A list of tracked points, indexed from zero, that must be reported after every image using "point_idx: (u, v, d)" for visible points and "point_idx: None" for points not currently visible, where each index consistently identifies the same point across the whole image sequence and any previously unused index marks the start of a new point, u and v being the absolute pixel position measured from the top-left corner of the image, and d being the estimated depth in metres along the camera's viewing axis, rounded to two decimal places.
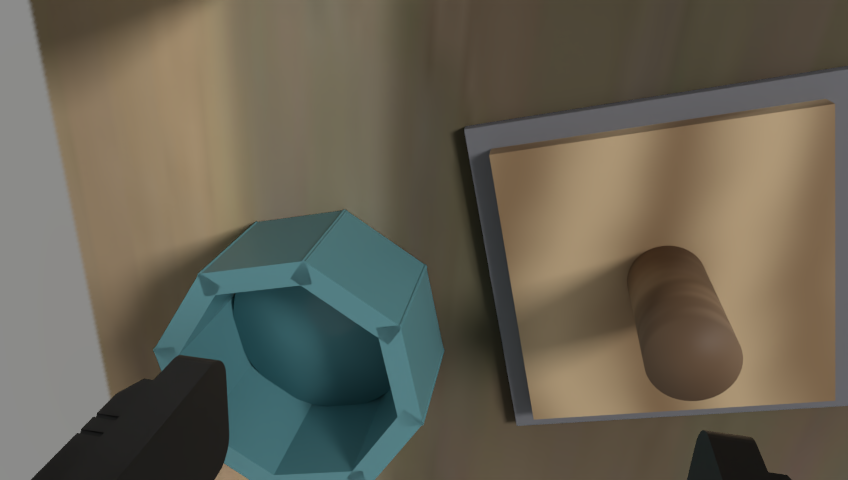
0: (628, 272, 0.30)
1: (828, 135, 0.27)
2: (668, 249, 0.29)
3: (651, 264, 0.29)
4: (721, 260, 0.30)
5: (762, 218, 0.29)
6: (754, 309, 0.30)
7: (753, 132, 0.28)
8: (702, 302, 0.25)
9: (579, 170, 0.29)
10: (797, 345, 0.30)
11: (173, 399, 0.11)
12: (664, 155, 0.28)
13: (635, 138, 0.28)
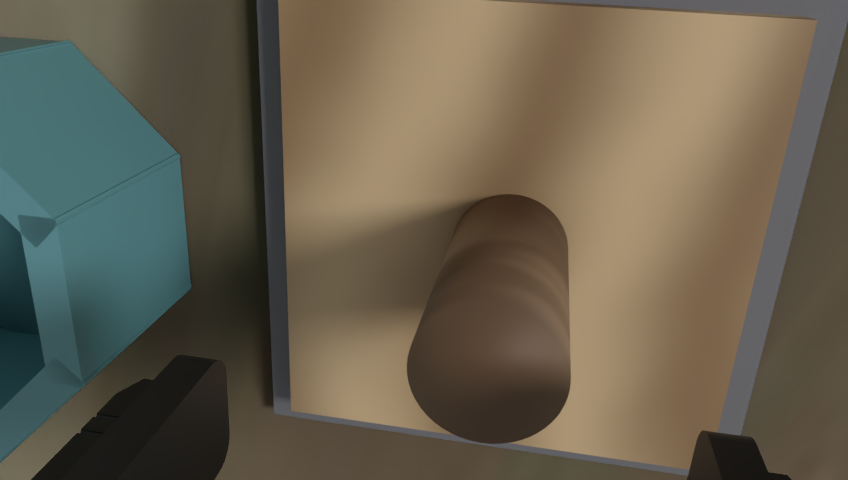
0: (456, 224, 0.20)
1: (794, 71, 0.17)
2: (519, 200, 0.19)
3: (485, 214, 0.18)
4: (594, 235, 0.19)
5: (667, 184, 0.19)
6: (625, 319, 0.20)
7: (684, 40, 0.17)
8: (531, 281, 0.15)
9: (411, 45, 0.18)
10: (674, 385, 0.21)
11: (173, 399, 0.11)
12: (542, 48, 0.18)
13: (504, 10, 0.18)
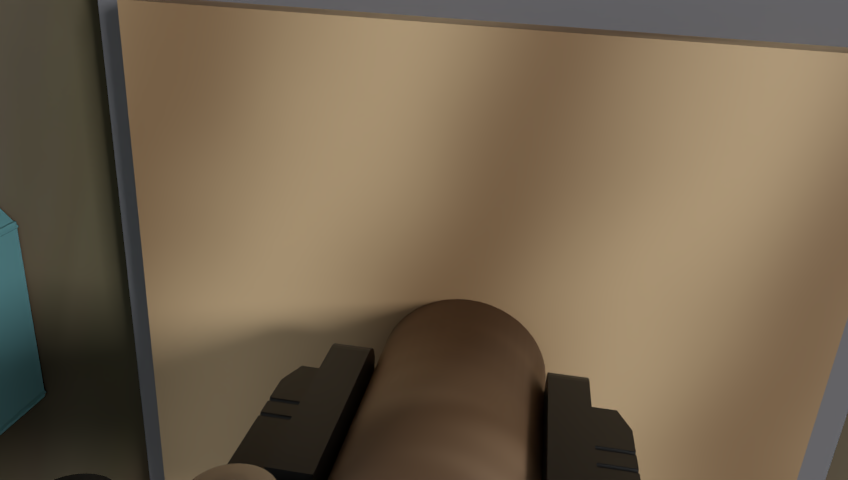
0: (387, 338, 0.14)
1: None
2: (474, 311, 0.13)
3: (421, 339, 0.12)
4: (583, 359, 0.13)
5: (691, 291, 0.13)
6: None
7: (721, 86, 0.11)
8: None
9: (313, 86, 0.12)
10: None
11: (344, 384, 0.12)
12: (507, 95, 0.12)
13: (449, 38, 0.12)
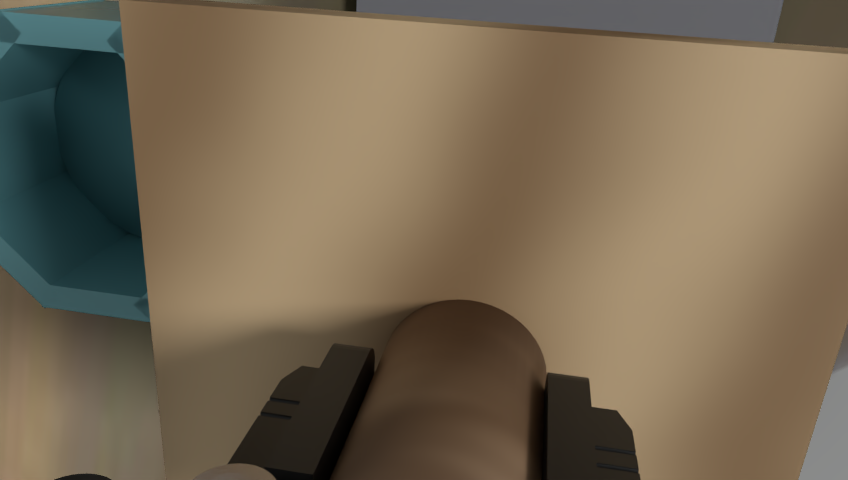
0: (388, 338, 0.14)
1: None
2: (475, 311, 0.13)
3: (422, 340, 0.12)
4: (584, 360, 0.13)
5: (692, 292, 0.13)
6: None
7: (722, 87, 0.11)
8: None
9: (314, 86, 0.12)
10: None
11: (344, 384, 0.12)
12: (509, 95, 0.12)
13: (451, 38, 0.12)
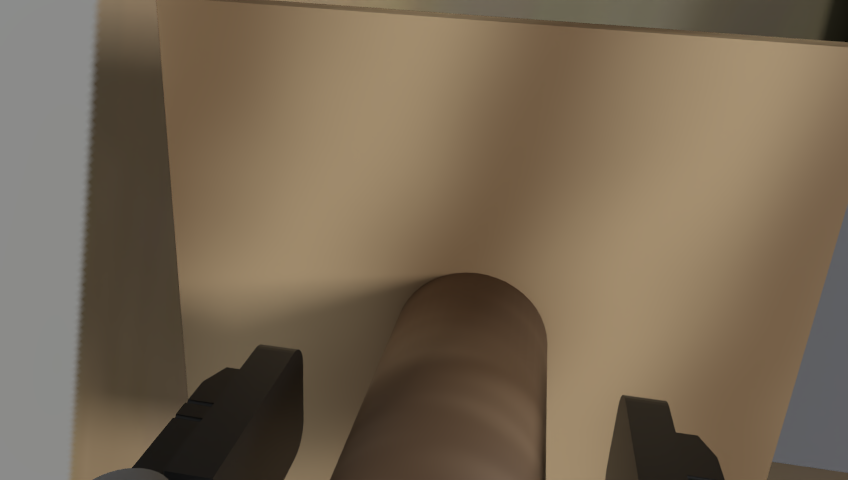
0: (401, 309, 0.15)
1: None
2: (482, 283, 0.14)
3: (434, 307, 0.13)
4: (582, 328, 0.15)
5: (680, 264, 0.14)
6: None
7: (706, 76, 0.13)
8: (487, 437, 0.10)
9: (335, 76, 0.14)
10: None
11: (263, 385, 0.11)
12: (513, 83, 0.13)
13: (460, 31, 0.13)
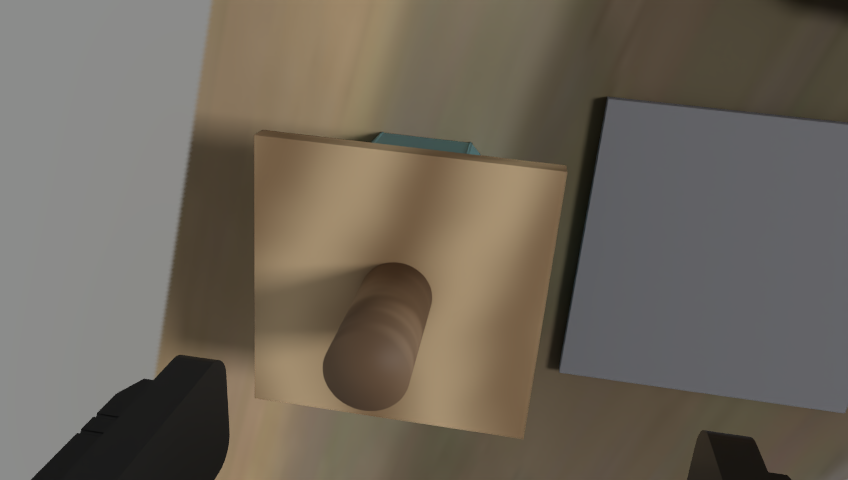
0: (363, 279, 0.32)
1: (557, 198, 0.29)
2: (400, 267, 0.31)
3: (377, 276, 0.30)
4: (447, 289, 0.31)
5: (489, 259, 0.31)
6: (468, 340, 0.32)
7: (494, 178, 0.29)
8: (393, 321, 0.27)
9: (335, 172, 0.30)
10: (500, 382, 0.33)
11: (173, 399, 0.11)
12: (413, 178, 0.30)
13: (390, 156, 0.30)
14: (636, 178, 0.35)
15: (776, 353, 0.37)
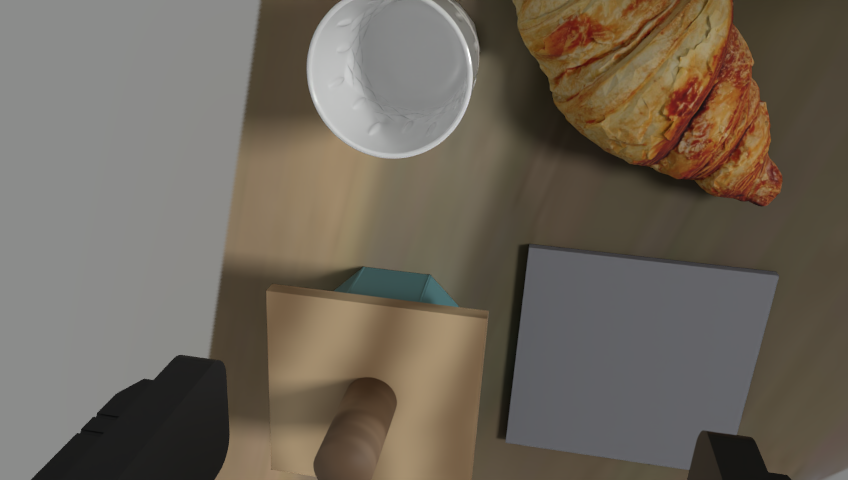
0: (347, 388, 0.44)
1: (481, 336, 0.41)
2: (372, 381, 0.43)
3: (355, 391, 0.42)
4: (407, 396, 0.43)
5: (436, 376, 0.42)
6: (424, 431, 0.44)
7: (436, 322, 0.41)
8: (361, 432, 0.39)
9: (323, 316, 0.42)
10: (449, 461, 0.45)
11: (173, 399, 0.11)
12: (379, 321, 0.42)
13: (362, 306, 0.42)
14: (553, 303, 0.46)
15: (669, 430, 0.48)
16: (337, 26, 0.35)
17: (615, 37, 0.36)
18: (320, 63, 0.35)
